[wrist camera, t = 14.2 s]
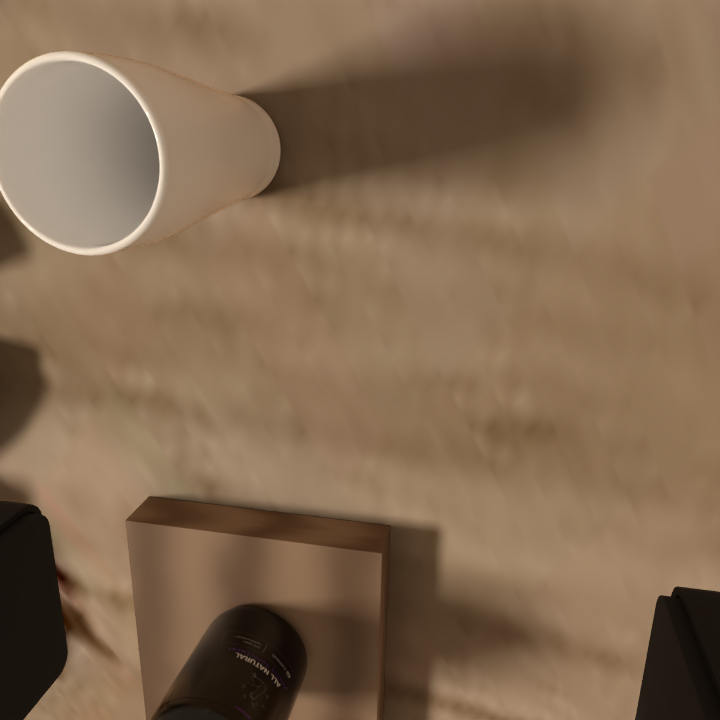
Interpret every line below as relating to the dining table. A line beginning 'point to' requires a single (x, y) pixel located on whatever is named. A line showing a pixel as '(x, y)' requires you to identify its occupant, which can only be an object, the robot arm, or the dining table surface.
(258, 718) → the supplement bottle
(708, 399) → the dining table surface
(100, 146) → the drinking glass
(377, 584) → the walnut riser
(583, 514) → the dining table surface
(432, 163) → the dining table surface
